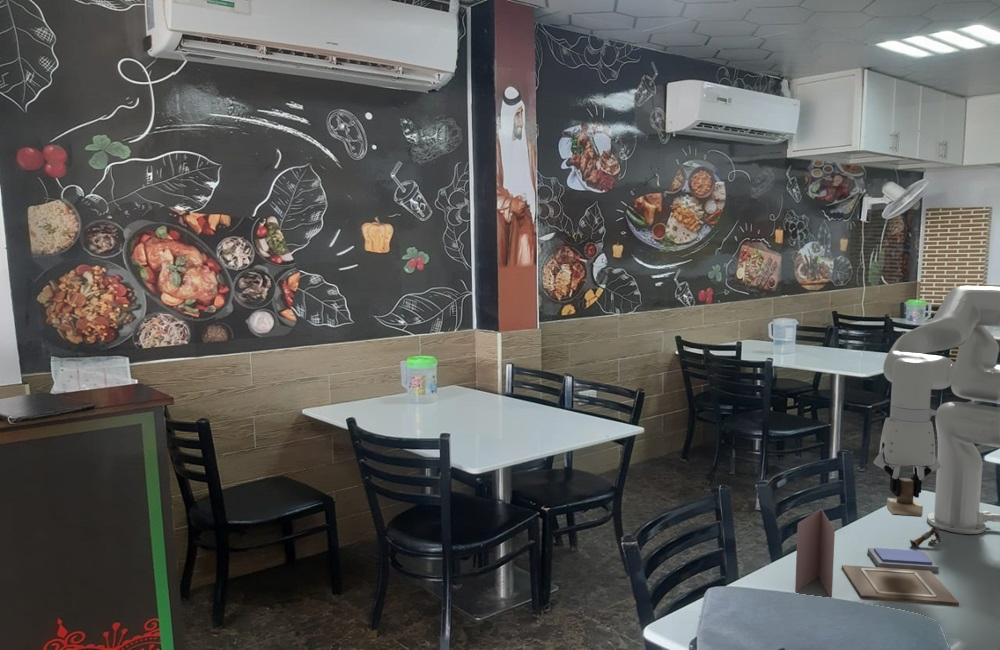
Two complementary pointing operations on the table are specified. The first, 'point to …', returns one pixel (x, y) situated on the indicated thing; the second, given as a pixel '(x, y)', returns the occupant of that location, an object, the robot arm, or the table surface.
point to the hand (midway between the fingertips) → (905, 494)
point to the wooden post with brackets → (926, 536)
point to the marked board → (898, 585)
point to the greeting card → (815, 551)
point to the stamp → (905, 501)
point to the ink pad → (902, 559)
